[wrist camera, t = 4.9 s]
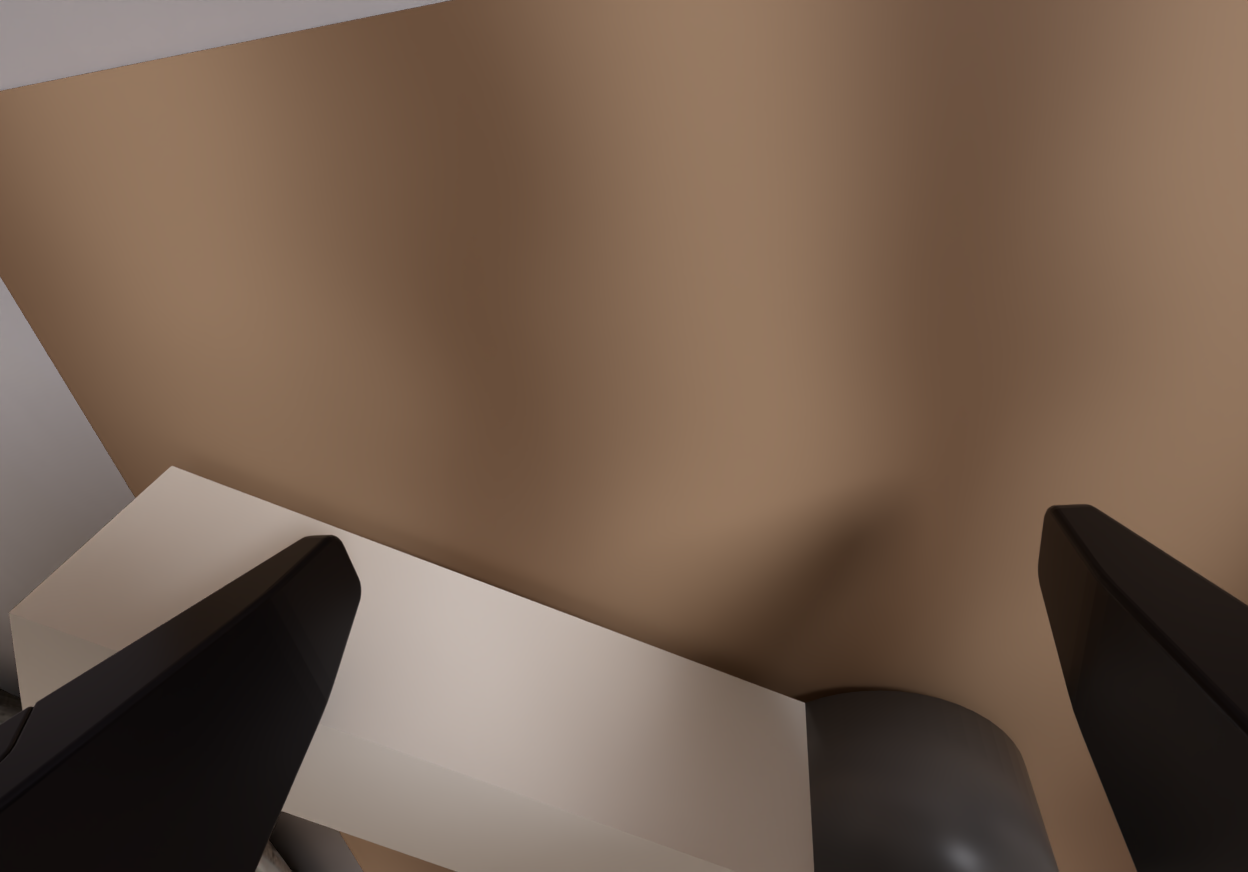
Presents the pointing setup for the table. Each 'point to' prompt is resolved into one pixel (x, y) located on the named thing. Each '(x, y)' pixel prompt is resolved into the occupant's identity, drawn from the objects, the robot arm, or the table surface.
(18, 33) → the table surface
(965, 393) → the cutting board
